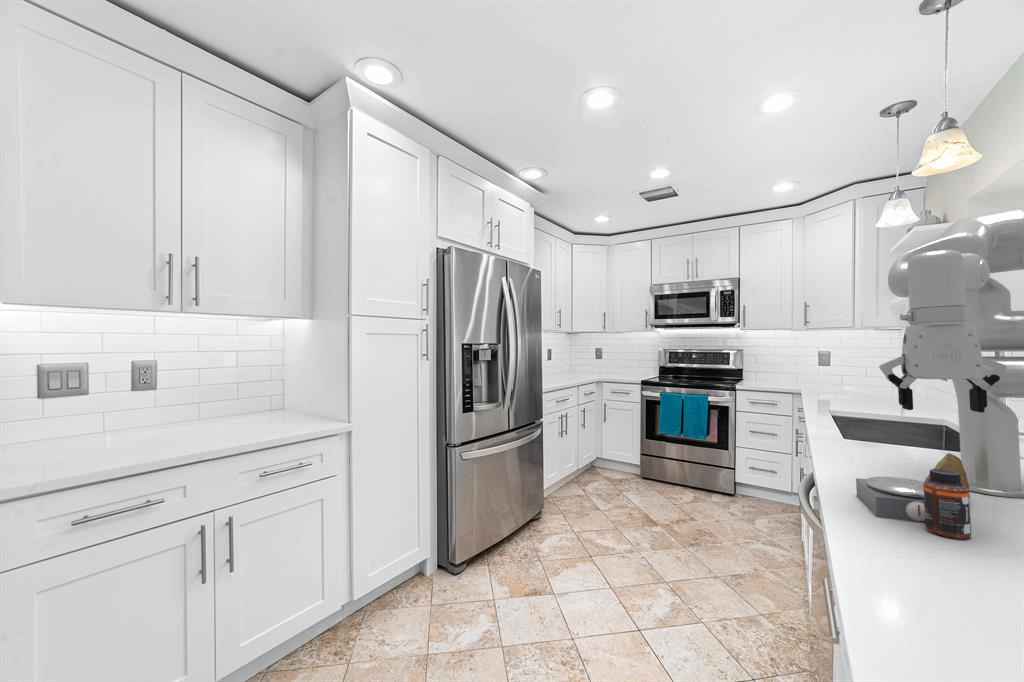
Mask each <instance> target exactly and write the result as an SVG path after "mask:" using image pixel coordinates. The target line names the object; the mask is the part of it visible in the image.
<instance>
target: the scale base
mask: <svg viewBox="0 0 1024 682" xmlns="http://www.w3.org/2000/svg"><path fill="white" fill-rule="evenodd" d="M867 479H868V478H860V477H859V478H857V477H856V478H855V483H856V484H855V487H856V497H858V498H859V500H860V501H861V502H862V503H863V504H864V505H865V506H866V507H867V508H868V509H869V510H870V511H871V513H872V514H874V515H875V516H876V518H885V519H886V518H887V519H893V520H902V519H903V521H910V520H912V521H911V522H913V521H914V522H919V521H922V522H921V523H925V508H924V498H918V497H909V496H902V495H897V494H892V493H887V492H883V491H880V490H877V489H874V488H872V487H870V486H868V485H867Z"/></svg>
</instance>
